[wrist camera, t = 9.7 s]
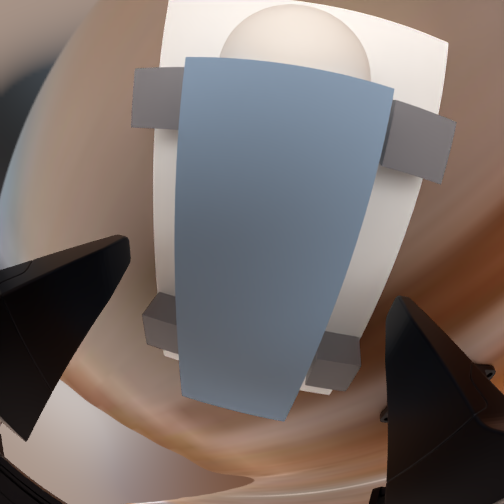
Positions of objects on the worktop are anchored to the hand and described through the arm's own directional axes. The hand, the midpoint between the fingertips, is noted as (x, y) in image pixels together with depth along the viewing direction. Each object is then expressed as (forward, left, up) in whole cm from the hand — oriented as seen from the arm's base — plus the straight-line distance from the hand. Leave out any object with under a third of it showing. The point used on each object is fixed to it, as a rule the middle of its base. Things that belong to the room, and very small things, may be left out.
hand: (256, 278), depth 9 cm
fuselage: (0, 0, -3) cm, 3 cm away
